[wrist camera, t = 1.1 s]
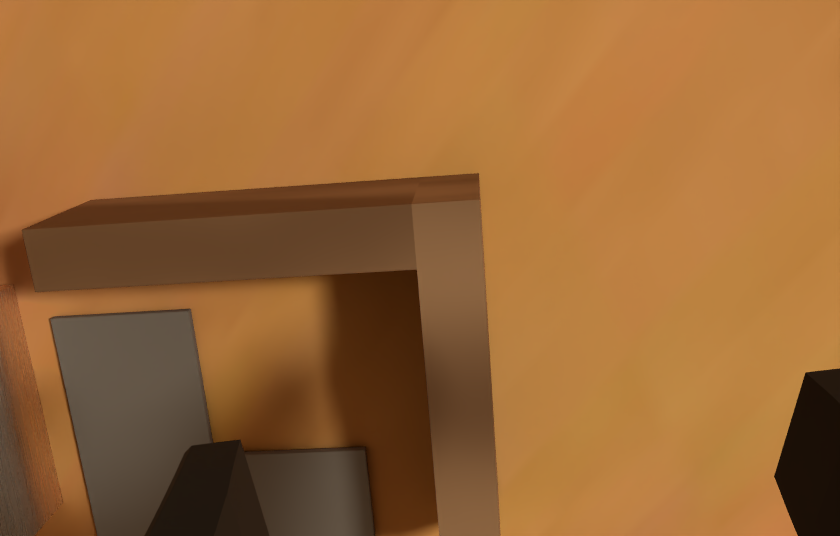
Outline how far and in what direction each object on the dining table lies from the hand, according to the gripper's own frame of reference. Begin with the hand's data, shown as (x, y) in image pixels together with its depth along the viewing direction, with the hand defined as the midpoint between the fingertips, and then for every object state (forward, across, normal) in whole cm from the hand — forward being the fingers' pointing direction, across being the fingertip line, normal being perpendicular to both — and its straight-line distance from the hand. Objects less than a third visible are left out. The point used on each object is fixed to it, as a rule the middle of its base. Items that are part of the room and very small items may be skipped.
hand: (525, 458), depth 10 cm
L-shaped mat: (+10, +7, +10) cm, 15 cm away
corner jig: (+10, +4, +7) cm, 13 cm away
